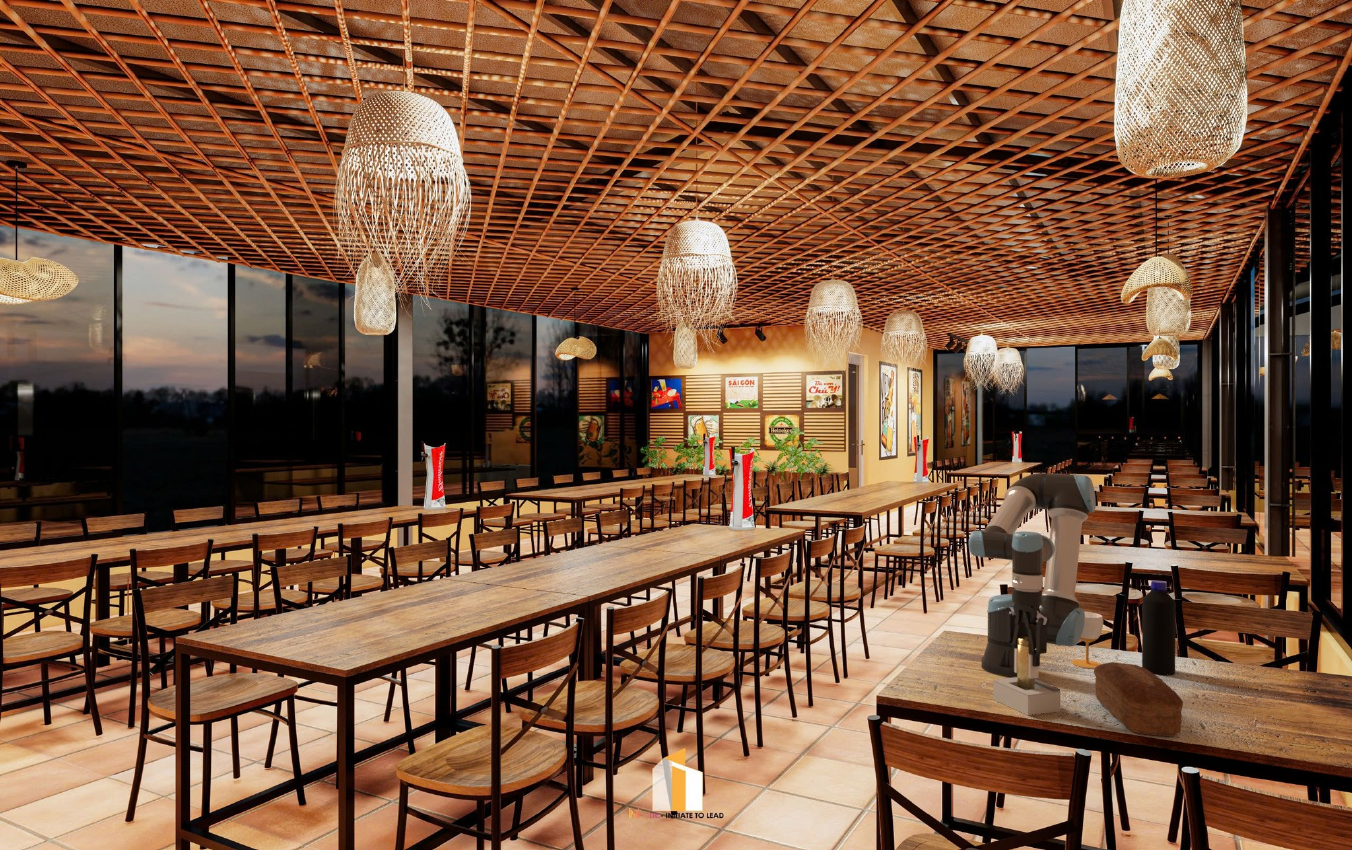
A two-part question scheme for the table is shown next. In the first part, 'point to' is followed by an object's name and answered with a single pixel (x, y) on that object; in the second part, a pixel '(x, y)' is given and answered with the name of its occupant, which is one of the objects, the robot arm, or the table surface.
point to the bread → (1138, 699)
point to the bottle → (1158, 630)
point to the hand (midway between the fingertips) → (1026, 674)
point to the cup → (1090, 637)
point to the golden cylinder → (1023, 664)
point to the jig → (1027, 696)
